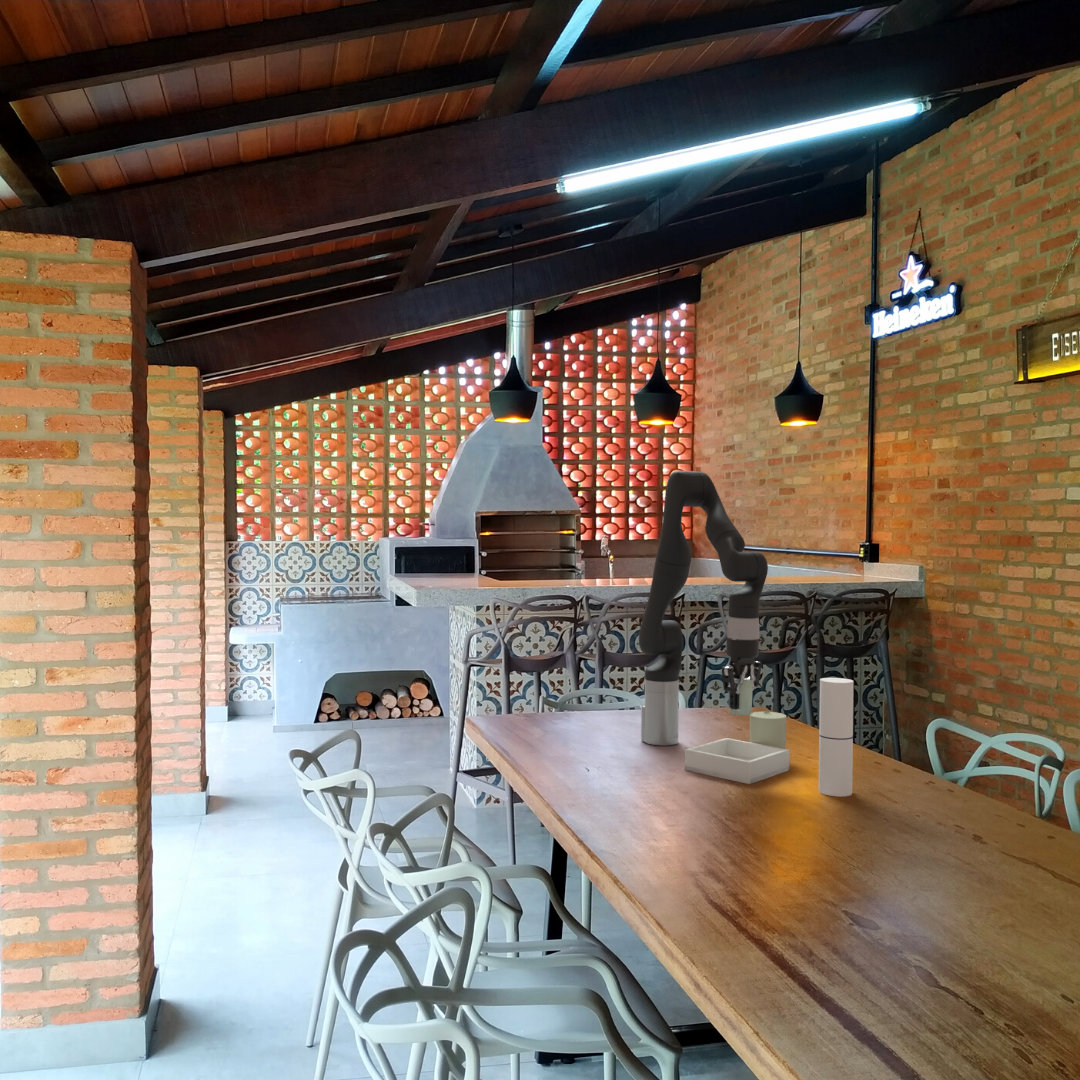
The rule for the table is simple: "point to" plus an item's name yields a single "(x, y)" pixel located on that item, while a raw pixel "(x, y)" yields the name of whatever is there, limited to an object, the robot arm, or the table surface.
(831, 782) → the cylindrical container
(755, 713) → the can
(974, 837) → the table surface
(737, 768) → the grey tub
